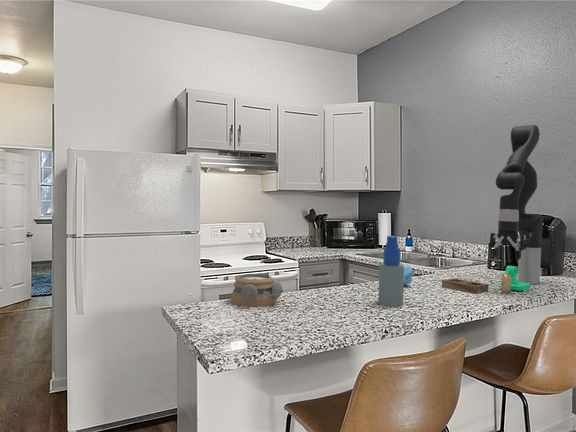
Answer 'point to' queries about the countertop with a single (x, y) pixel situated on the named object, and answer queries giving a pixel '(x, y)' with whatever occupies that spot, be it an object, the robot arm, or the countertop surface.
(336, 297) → the countertop surface
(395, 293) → the spray bottle
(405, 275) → the teapot
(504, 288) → the bushing
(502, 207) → the robot arm
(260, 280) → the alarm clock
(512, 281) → the camera mount
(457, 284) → the jig
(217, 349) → the countertop surface
